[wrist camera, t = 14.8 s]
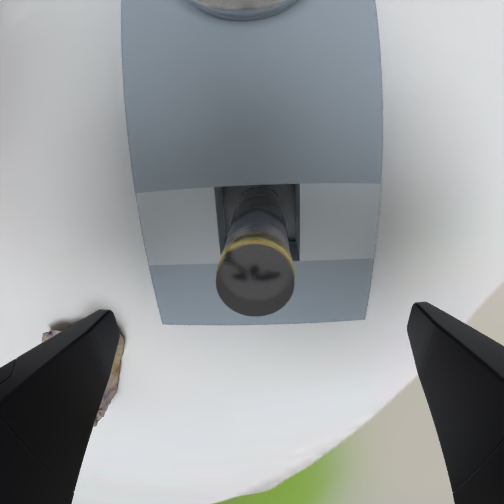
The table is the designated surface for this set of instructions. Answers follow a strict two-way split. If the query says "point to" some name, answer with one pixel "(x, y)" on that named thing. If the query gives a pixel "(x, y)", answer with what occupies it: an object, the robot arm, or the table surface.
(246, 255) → the pin
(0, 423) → the robot arm
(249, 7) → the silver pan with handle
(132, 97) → the plate
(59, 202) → the table surface
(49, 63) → the table surface
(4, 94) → the table surface
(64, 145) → the table surface
